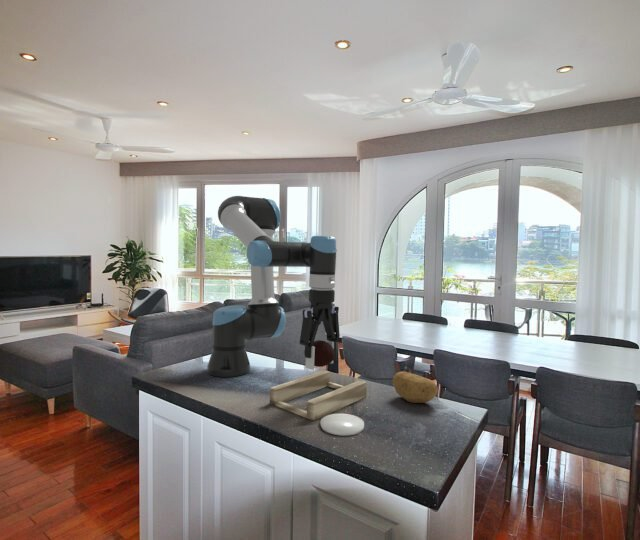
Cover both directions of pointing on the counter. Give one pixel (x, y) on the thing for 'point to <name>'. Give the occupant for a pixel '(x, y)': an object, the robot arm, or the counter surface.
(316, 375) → the cradle
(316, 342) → the dark brown rounded piece
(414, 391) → the potato
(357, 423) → the plate
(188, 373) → the counter surface
